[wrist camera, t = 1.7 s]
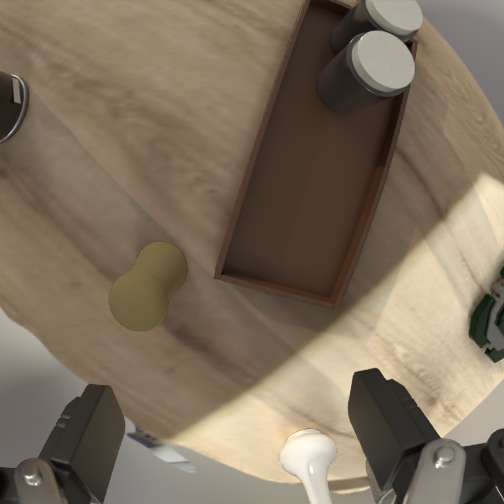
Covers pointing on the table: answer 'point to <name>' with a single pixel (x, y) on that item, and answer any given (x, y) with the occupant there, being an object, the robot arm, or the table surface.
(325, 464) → the flower vase
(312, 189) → the tray
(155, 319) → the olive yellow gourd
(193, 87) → the table surface
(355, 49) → the cylinder
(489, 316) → the flat green button pad
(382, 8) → the black shaker
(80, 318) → the table surface
